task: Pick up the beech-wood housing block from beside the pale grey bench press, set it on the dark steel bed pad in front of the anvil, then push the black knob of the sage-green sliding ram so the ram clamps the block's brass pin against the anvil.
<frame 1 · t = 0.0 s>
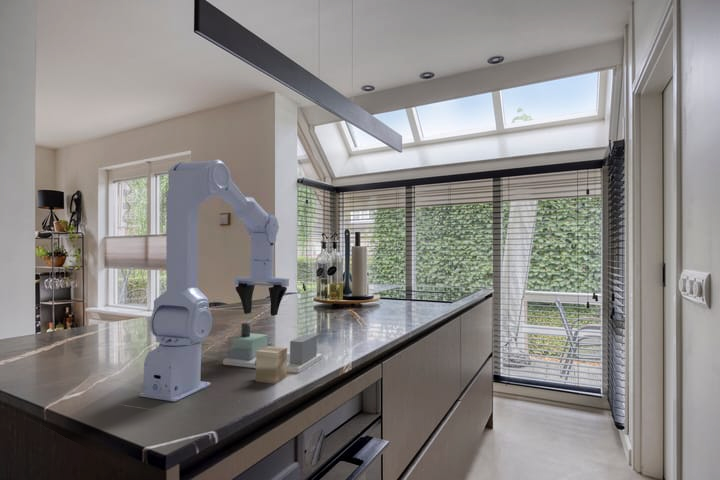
hand: (260, 314, 101), 10 cm above the counter, tool pointing down, fingers open, 7 cm apart
ram: (250, 338, 96), point 5 cm above the counter, slide at 0.0 cm
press: (274, 361, 94), on the counter
housing: (271, 379, 81), on the counter
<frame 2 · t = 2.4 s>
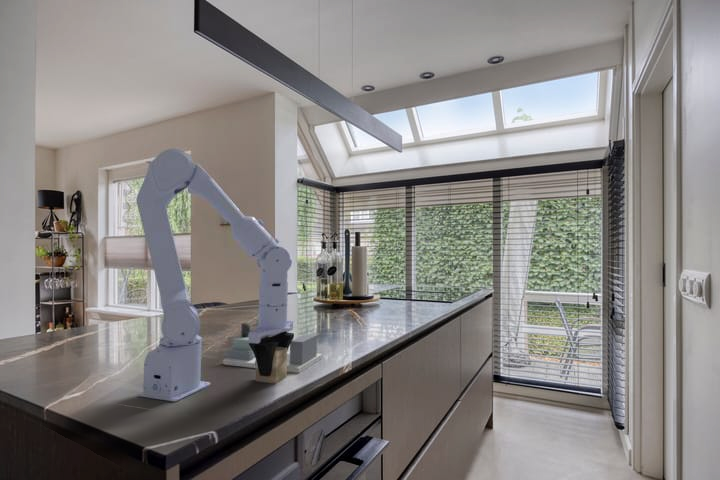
hand: (271, 371, 81), 1 cm above the counter, tool pointing down, fingers closed on housing, 4 cm apart
housing: (271, 378, 81), on the counter, touching gripper
everything else where it was.
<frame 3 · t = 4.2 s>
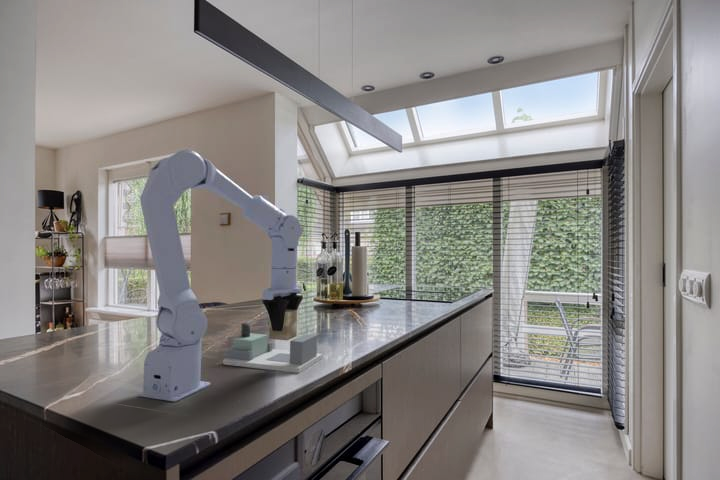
hand: (282, 328, 90), 9 cm above the counter, tool pointing down, fingers closed on housing, 4 cm apart
housing: (283, 337, 90), point 7 cm above the counter, touching gripper
everything else where it was.
when the fingers open (3 cm above the counter, at t = 5.9 s): housing stays where it is, resting on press.
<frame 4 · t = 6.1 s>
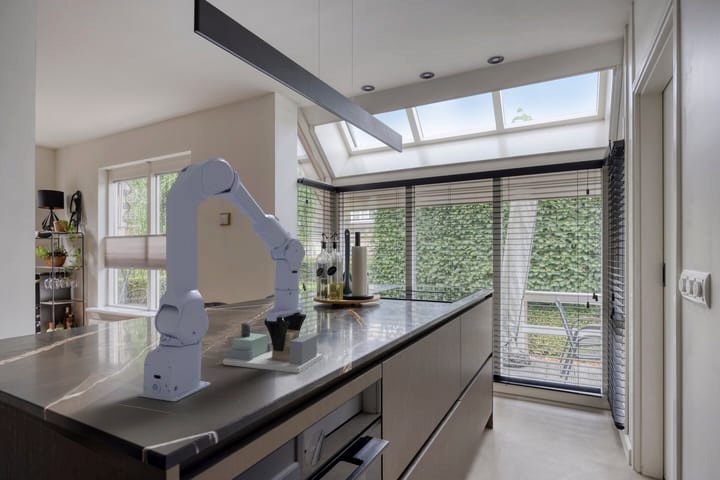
hand: (285, 347, 93), 3 cm above the counter, tool pointing down, fingers open, 6 cm apart
housing: (285, 357, 93), point 1 cm above the counter, touching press
everything else where it was.
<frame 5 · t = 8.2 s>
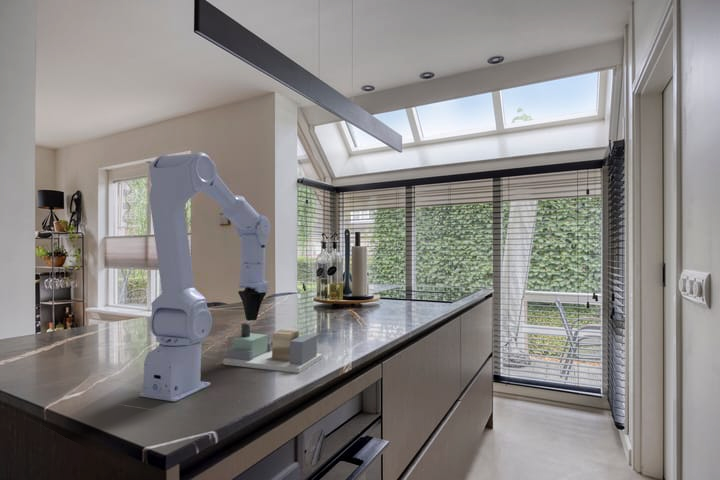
hand: (251, 320, 96), 9 cm above the counter, tool pointing down, fingers closed
nothing on the counter moved.
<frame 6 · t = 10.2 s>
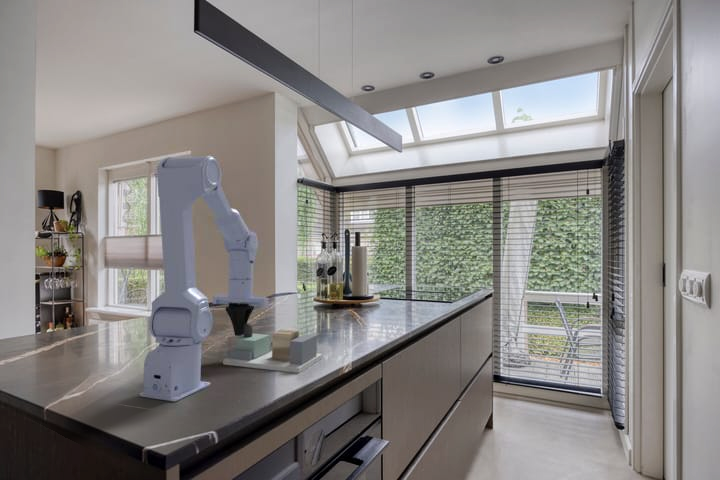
hand: (239, 334, 97), 5 cm above the counter, tool pointing down, fingers closed
ram: (253, 339, 96), point 5 cm above the counter, slide at 0.7 cm, touching gripper
everything else where it was.
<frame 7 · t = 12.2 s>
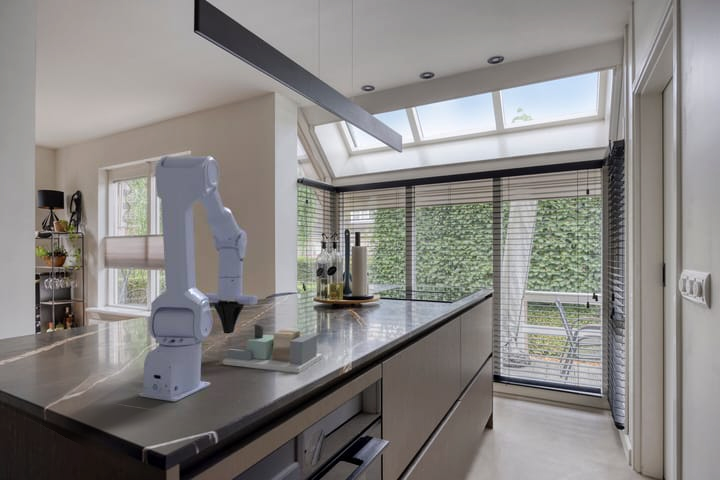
hand: (228, 332, 97), 6 cm above the counter, tool pointing down, fingers closed
ram: (264, 340, 95), point 5 cm above the counter, slide at 3.6 cm
everything else where it was.
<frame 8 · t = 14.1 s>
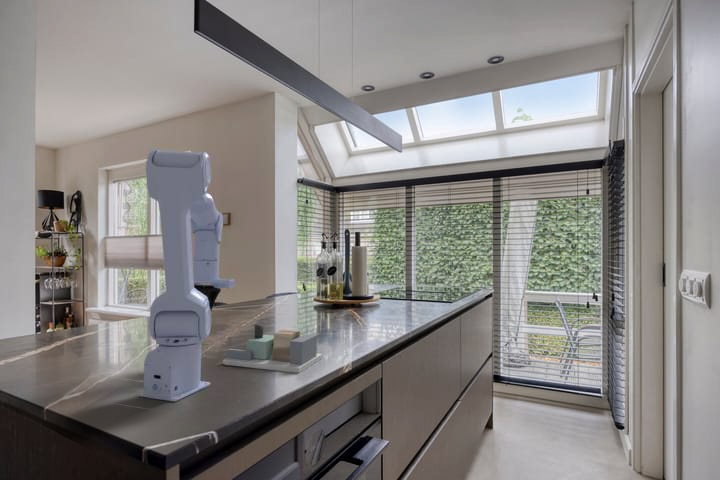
hand: (204, 317, 94), 10 cm above the counter, tool pointing down, fingers closed
nothing on the counter moved.
at the end: housing 0.0 cm from the target spot on the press, point 1.1 cm above the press's base; ram slide at 3.6 cm; housing tilted 0° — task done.
